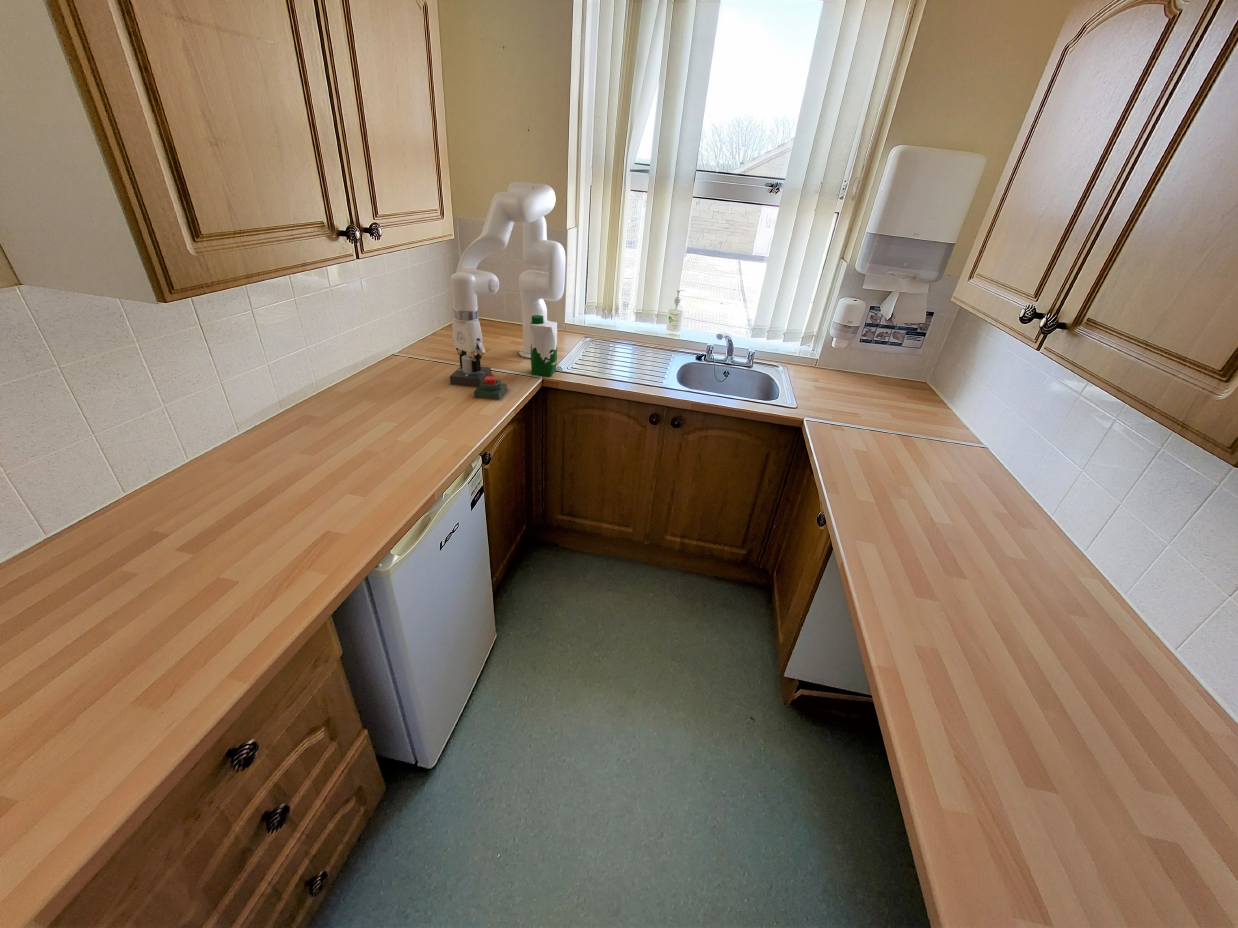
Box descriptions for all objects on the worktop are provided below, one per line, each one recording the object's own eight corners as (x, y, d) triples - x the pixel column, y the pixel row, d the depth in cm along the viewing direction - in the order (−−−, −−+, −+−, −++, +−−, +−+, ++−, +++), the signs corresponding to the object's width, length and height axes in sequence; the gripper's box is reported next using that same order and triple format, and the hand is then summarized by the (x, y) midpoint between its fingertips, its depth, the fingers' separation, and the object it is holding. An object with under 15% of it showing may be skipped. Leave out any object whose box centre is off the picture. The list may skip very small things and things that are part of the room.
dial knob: (459, 371, 163) (458, 356, 160) (471, 367, 167) (470, 352, 164) (470, 375, 160) (468, 359, 158) (482, 371, 164) (481, 356, 162)
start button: (486, 380, 156) (486, 375, 155) (497, 381, 156) (497, 376, 155) (483, 384, 153) (482, 379, 152) (494, 385, 153) (494, 380, 152)
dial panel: (463, 372, 170) (462, 364, 169) (491, 375, 170) (490, 366, 169) (450, 384, 160) (449, 375, 158) (480, 387, 160) (479, 378, 158)
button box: (483, 387, 160) (482, 376, 158) (507, 389, 160) (506, 378, 158) (474, 397, 152) (473, 385, 150) (499, 400, 152) (498, 388, 150)
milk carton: (535, 367, 181) (534, 313, 171) (559, 370, 180) (559, 315, 170) (528, 375, 173) (526, 318, 163) (552, 378, 172) (552, 321, 162)
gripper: (439, 311, 155) (445, 365, 164) (474, 322, 147) (478, 378, 156) (458, 307, 161) (462, 360, 170) (493, 318, 153) (496, 373, 162)
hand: (470, 368), depth 163 cm, fingers closed on dial knob, 5 cm apart
